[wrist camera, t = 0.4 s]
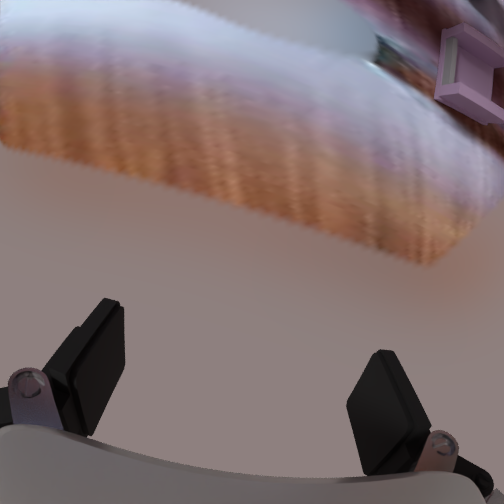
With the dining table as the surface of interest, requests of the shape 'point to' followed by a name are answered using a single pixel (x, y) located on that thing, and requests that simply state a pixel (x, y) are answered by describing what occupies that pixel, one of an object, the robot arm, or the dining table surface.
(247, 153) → the dining table surface
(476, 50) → the holder
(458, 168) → the dining table surface
